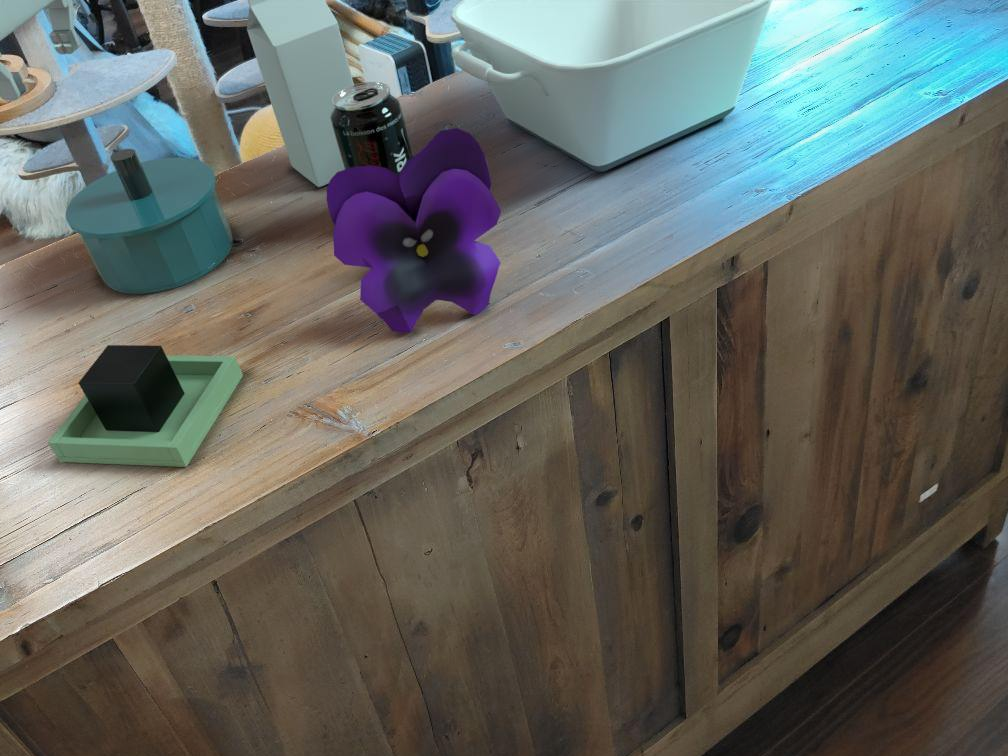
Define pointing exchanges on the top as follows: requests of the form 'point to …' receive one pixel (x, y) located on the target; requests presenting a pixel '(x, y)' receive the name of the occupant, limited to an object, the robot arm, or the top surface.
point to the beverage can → (370, 127)
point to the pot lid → (140, 195)
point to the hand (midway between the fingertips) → (43, 73)
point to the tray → (179, 436)
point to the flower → (419, 229)
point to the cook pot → (164, 252)
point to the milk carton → (302, 78)
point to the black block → (132, 388)
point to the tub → (610, 68)
